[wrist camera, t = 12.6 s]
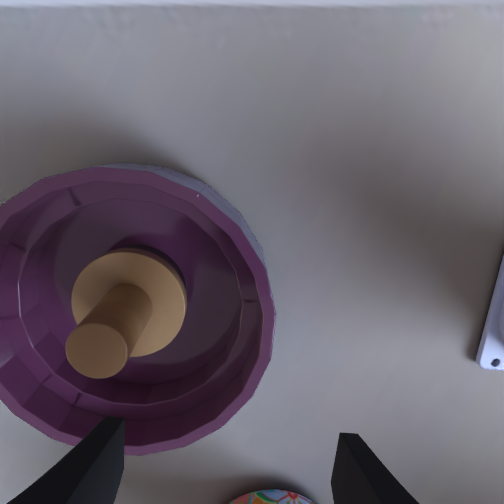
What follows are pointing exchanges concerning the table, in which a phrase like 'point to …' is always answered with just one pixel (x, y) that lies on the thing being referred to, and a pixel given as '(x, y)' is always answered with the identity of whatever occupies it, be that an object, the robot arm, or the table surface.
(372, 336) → the table surface
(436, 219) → the table surface
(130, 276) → the pot brush
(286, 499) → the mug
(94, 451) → the robot arm
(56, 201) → the bowl
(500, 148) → the table surface
